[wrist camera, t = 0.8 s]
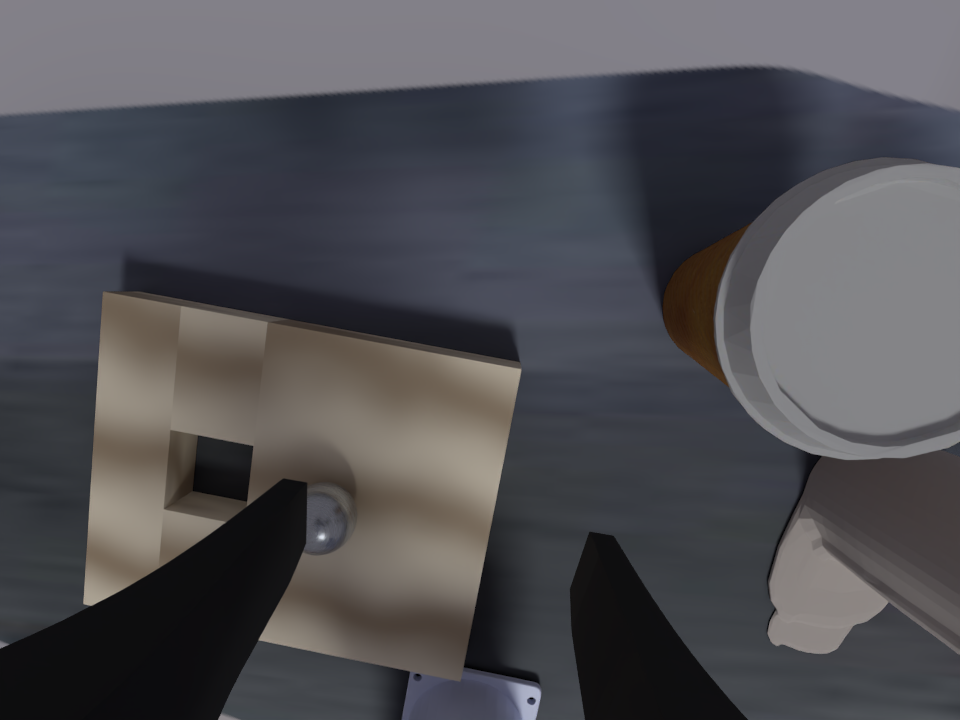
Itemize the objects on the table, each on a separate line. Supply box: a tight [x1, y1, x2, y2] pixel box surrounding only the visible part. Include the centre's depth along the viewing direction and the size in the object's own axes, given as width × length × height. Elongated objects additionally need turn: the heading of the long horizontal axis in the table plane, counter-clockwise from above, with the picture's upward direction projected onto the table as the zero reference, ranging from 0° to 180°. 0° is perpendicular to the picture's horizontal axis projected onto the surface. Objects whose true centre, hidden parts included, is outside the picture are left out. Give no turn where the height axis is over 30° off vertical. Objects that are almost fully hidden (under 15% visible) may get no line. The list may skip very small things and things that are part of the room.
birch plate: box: [84, 292, 521, 682], centre depth 27 cm, size 18×22×2 cm
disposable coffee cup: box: [663, 157, 960, 460], centre depth 20 cm, size 10×10×12 cm
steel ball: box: [303, 482, 357, 556], centre depth 24 cm, size 4×4×4 cm
